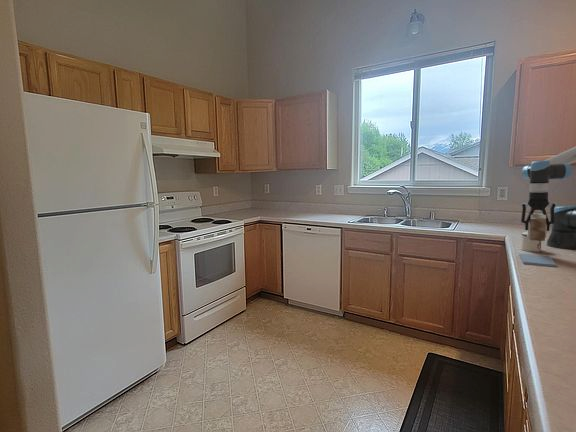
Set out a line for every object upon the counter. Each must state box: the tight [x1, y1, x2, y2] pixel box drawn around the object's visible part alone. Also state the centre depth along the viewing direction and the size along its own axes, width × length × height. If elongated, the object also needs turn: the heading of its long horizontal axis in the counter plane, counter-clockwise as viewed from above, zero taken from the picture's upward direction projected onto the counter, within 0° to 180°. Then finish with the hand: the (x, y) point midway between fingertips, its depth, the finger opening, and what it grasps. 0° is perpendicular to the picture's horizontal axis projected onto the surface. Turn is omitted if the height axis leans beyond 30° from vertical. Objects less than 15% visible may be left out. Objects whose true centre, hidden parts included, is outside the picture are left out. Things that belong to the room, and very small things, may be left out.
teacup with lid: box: [520, 231, 542, 253], centre depth 177 cm, size 12×9×12 cm
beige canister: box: [528, 213, 546, 242], centre depth 164 cm, size 6×6×13 cm
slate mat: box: [518, 253, 557, 268], centre depth 155 cm, size 12×18×1 cm, turn 150°
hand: (536, 236), depth 165 cm, fingers closed on beige canister, 6 cm apart
